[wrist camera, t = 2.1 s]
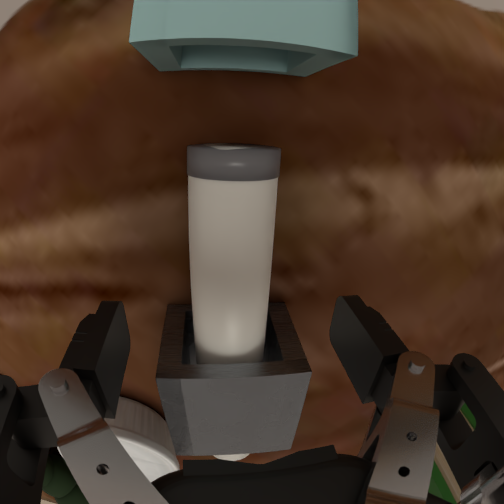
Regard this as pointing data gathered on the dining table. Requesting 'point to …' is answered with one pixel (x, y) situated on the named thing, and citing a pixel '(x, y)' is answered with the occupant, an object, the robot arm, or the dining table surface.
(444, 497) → the hardback book
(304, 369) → the sleeve
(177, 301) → the dining table surface
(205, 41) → the socket
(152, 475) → the ramekin
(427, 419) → the robot arm
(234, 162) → the tube
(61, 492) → the dark green lumpy piece
